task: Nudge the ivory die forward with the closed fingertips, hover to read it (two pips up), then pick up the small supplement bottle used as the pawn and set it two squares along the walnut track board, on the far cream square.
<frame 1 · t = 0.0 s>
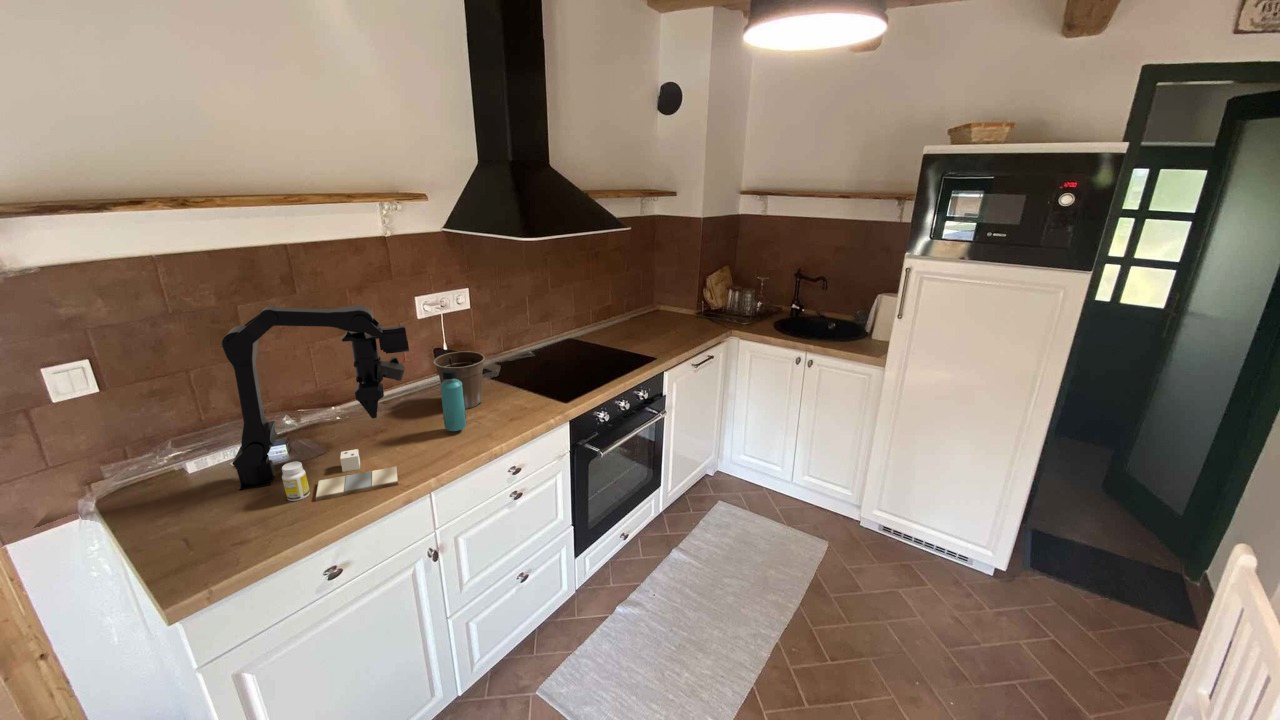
hand: (374, 410, 139), 15 cm above the worktop, fingers open, 9 cm apart
supplement bottle: (298, 496, 127), on the worktop
die: (351, 467, 140), on the worktop
track board: (358, 484, 132), on the worktop
plant pot: (463, 403, 180), on the worktop
beverage bottle: (455, 431, 160), on the worktop
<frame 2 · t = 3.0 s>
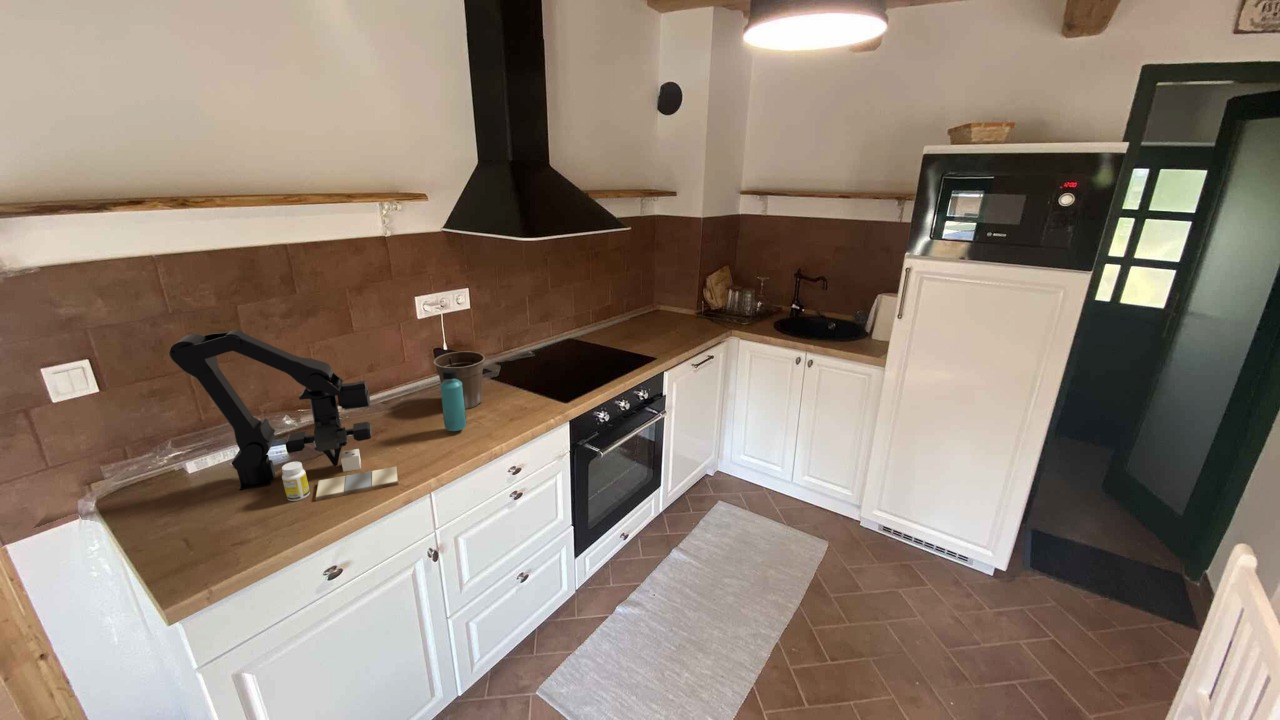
hand: (336, 465, 138), 1 cm above the worktop, fingers closed
die: (352, 466, 140), on the worktop, touching gripper
everything else where it was.
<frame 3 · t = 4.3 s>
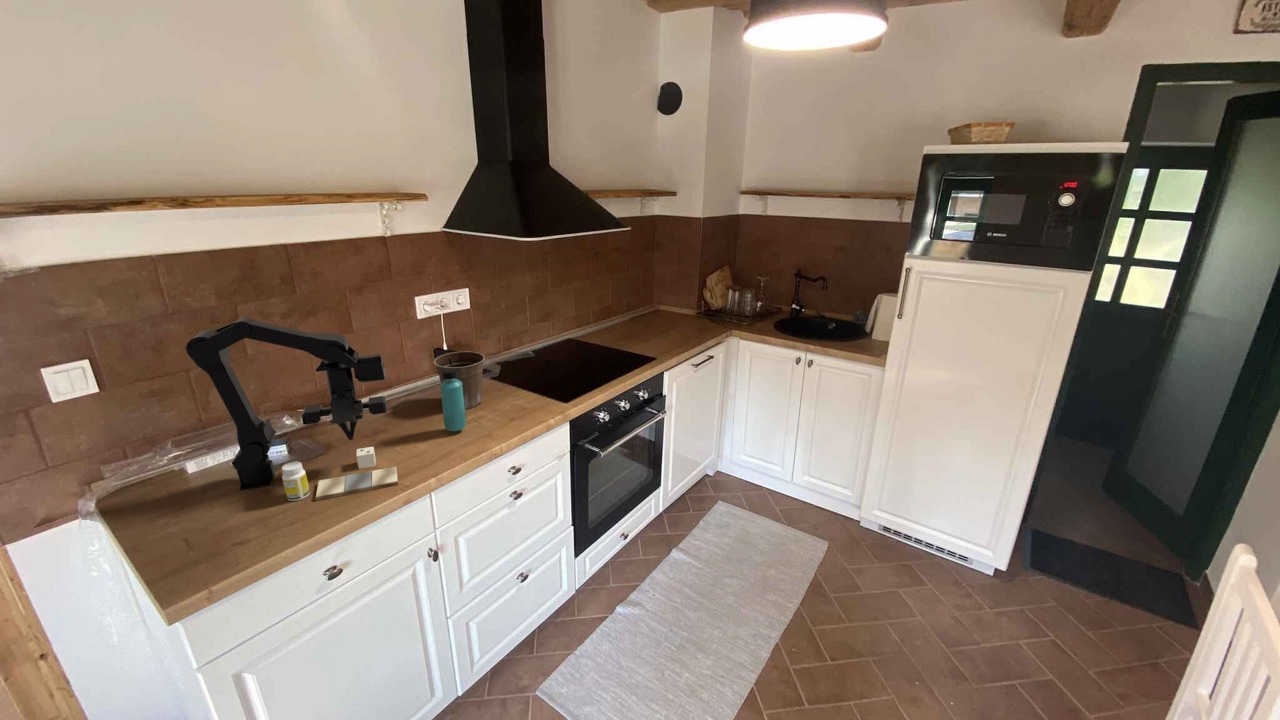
hand: (351, 439, 137), 8 cm above the worktop, fingers closed
die: (367, 464, 141), on the worktop
everything else where it was.
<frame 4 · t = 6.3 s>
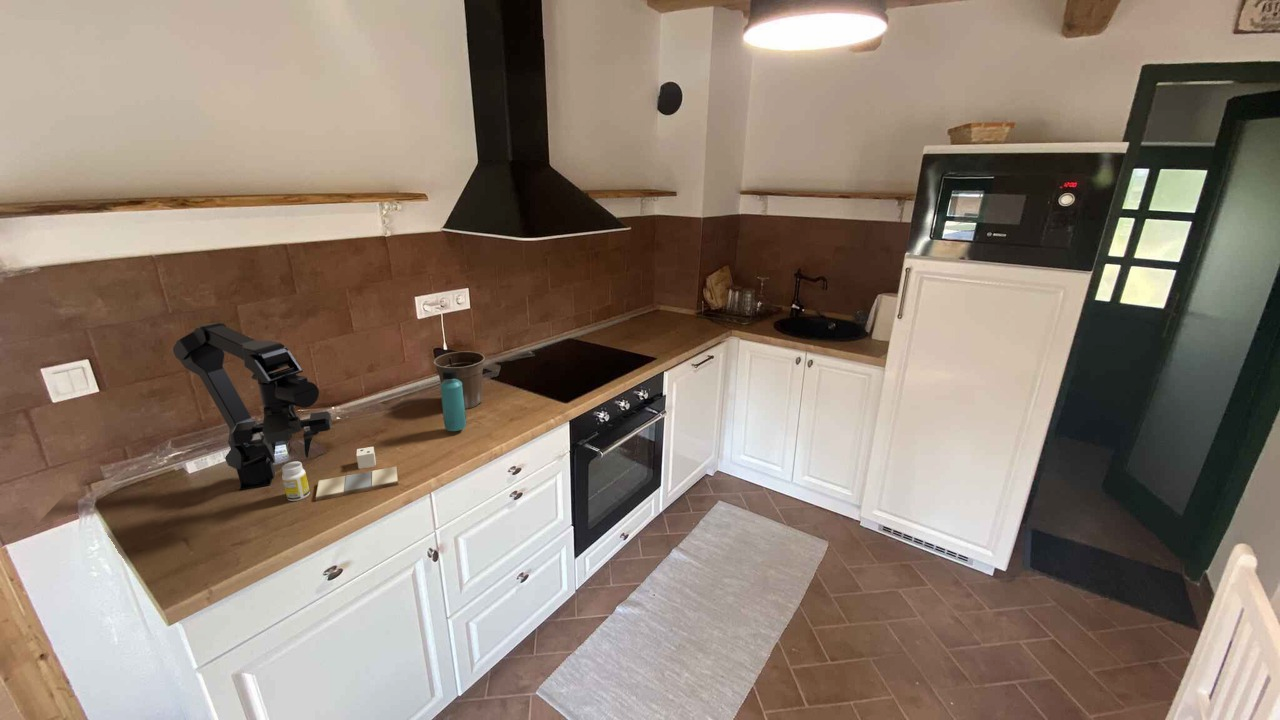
hand: (290, 459, 123), 10 cm above the worktop, fingers open, 6 cm apart
nothing on the worktop moved.
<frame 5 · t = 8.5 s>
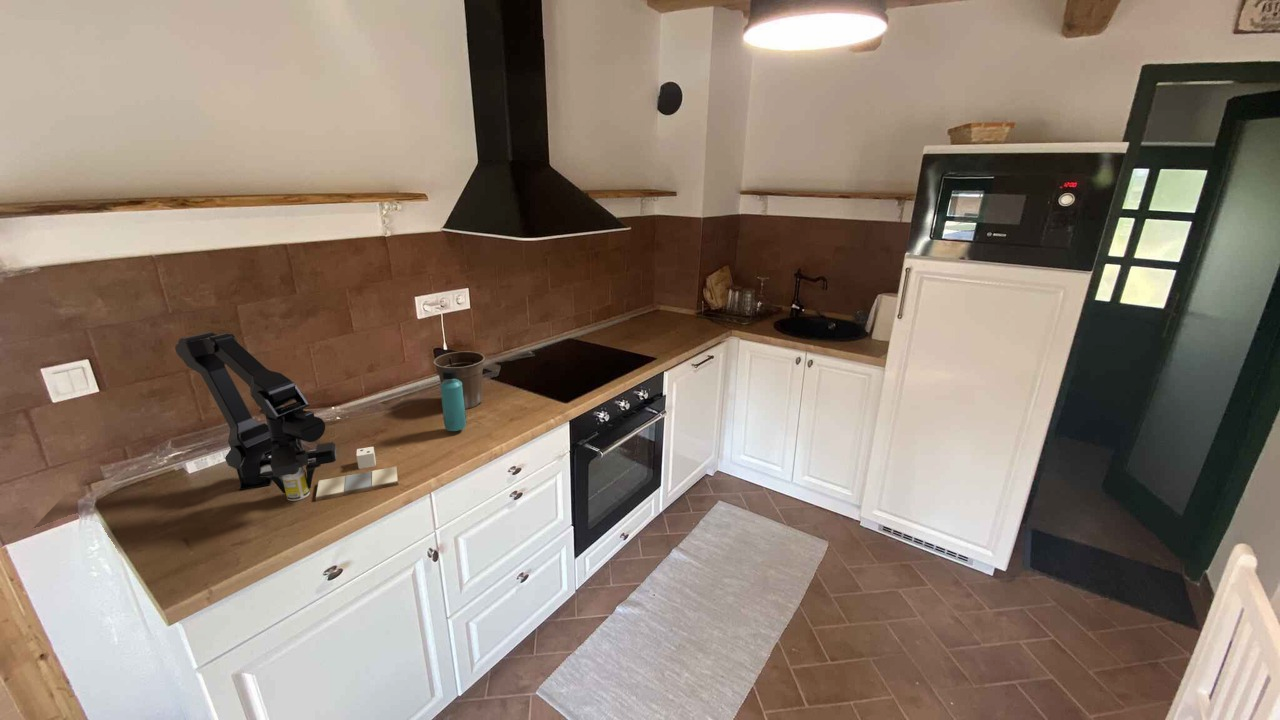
hand: (297, 490, 126), 2 cm above the worktop, fingers closed on supplement bottle, 5 cm apart
supplement bottle: (298, 496, 127), on the worktop, touching gripper
everything else where it was.
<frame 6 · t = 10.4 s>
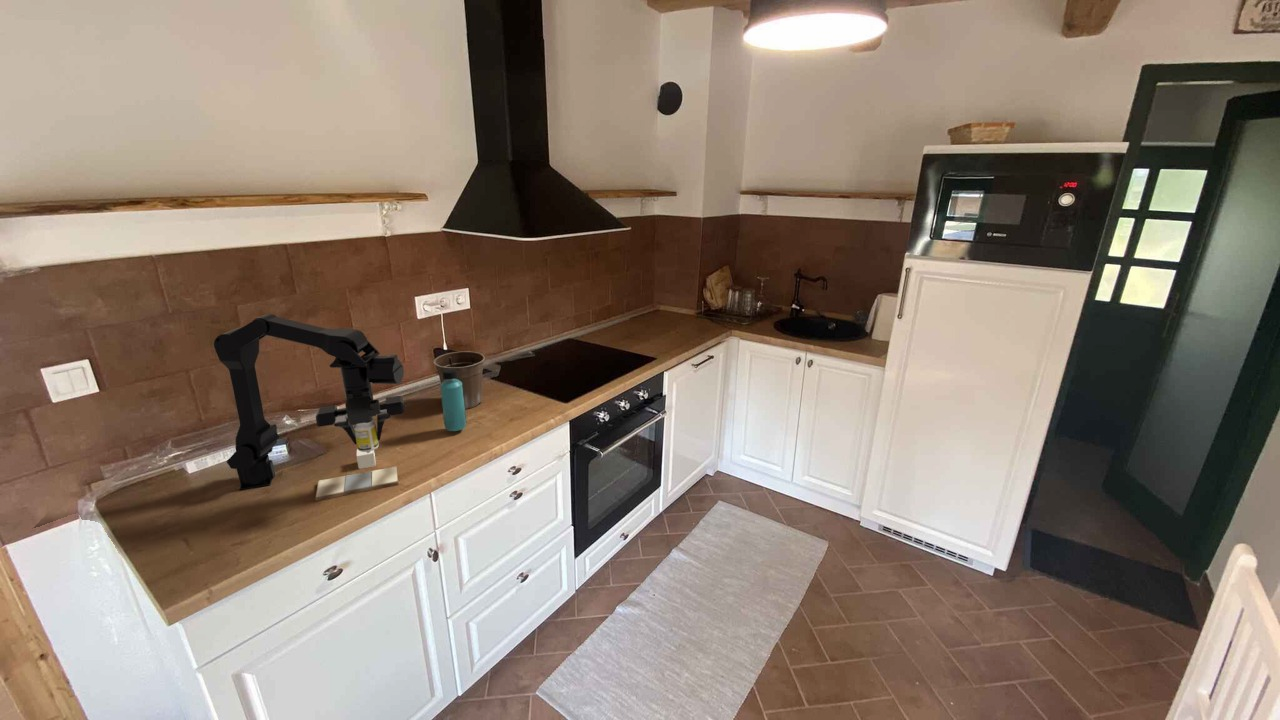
hand: (367, 441, 129), 11 cm above the worktop, fingers closed on supplement bottle, 5 cm apart
supplement bottle: (368, 448, 130), point 10 cm above the worktop, touching gripper
everything else where it was.
when the fingers open (4 cm above the worktop, at t = 12.7 s): supplement bottle drops 1 cm, resting on track board.
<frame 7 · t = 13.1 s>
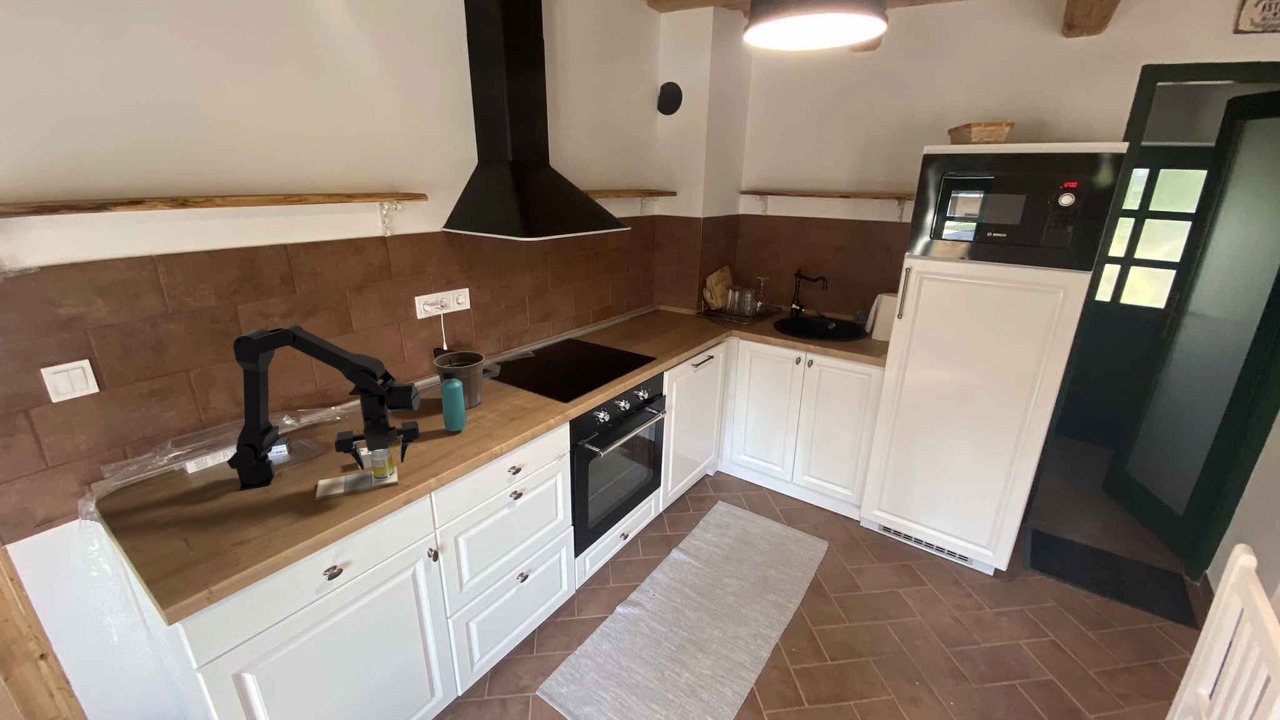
hand: (382, 465, 133), 4 cm above the worktop, fingers open, 9 cm apart
supplement bottle: (384, 476, 134), point 1 cm above the worktop, touching track board
everything else where it was.
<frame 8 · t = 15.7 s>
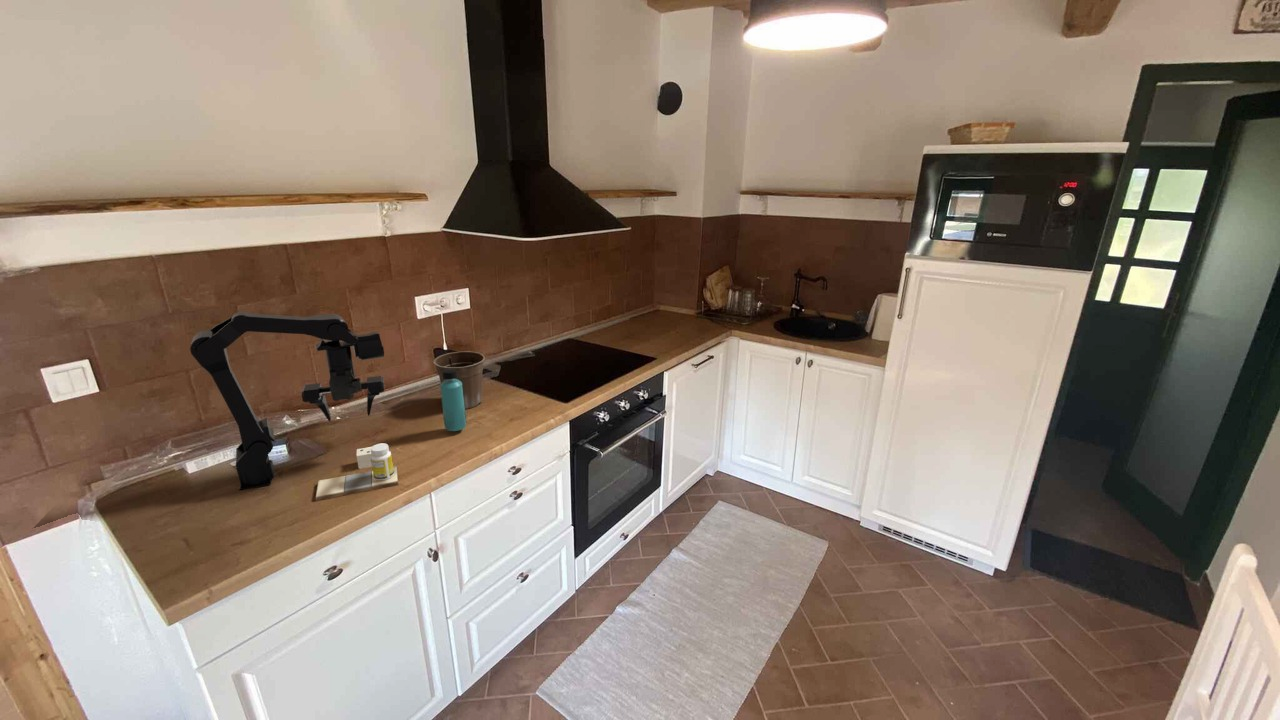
hand: (349, 417, 140), 12 cm above the worktop, fingers open, 9 cm apart
nothing on the worktop moved.
at the end: supplement bottle 0.1 cm from the target spot, point 0.8 cm above the worktop; supplement bottle tilted 0°; die moved 3.8 cm from its start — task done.
